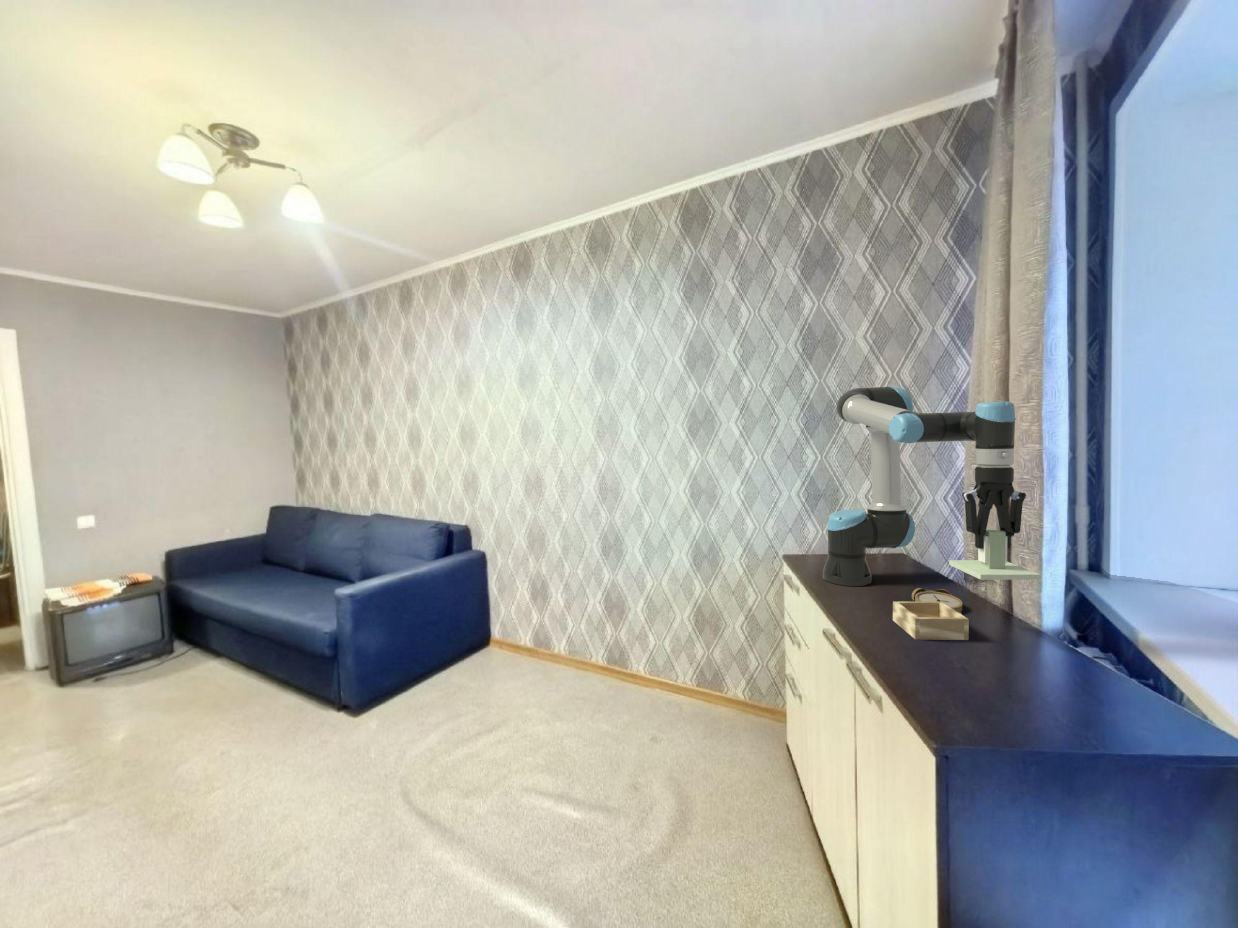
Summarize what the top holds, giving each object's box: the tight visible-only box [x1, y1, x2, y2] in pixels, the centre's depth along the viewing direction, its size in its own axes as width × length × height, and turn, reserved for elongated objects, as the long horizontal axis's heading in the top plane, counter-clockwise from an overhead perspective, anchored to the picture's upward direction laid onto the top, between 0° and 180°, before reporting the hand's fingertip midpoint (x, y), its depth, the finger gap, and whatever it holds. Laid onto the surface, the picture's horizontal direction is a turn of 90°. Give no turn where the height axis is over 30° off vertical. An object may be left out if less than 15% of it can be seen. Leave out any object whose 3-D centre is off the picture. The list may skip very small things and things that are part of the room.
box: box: [892, 601, 970, 641], centre depth 125 cm, size 12×12×6 cm
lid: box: [948, 528, 1042, 581], centre depth 122 cm, size 13×13×10 cm
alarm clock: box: [911, 587, 963, 615], centre depth 141 cm, size 11×5×15 cm
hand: (992, 561), depth 122 cm, fingers closed on lid, 3 cm apart
